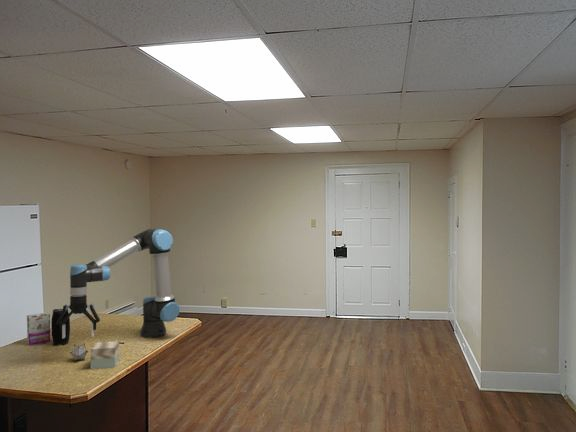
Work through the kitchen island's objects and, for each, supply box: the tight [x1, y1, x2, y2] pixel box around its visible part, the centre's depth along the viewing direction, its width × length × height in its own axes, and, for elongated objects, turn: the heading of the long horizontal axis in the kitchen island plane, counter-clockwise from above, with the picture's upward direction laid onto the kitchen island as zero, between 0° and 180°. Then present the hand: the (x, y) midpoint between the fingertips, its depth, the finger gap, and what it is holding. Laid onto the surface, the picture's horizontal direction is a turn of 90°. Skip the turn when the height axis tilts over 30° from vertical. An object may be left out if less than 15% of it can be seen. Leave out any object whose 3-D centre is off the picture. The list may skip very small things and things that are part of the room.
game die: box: [69, 343, 89, 362], centre depth 227 cm, size 9×8×10 cm
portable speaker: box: [50, 308, 71, 346], centre depth 255 cm, size 9×9×20 cm
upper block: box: [89, 340, 120, 361], centre depth 221 cm, size 11×11×5 cm
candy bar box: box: [26, 312, 51, 346], centre depth 257 cm, size 11×5×16 cm, turn 129°
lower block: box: [89, 352, 120, 370], centre depth 221 cm, size 11×11×5 cm
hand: (78, 337), depth 227 cm, fingers open, 13 cm apart
